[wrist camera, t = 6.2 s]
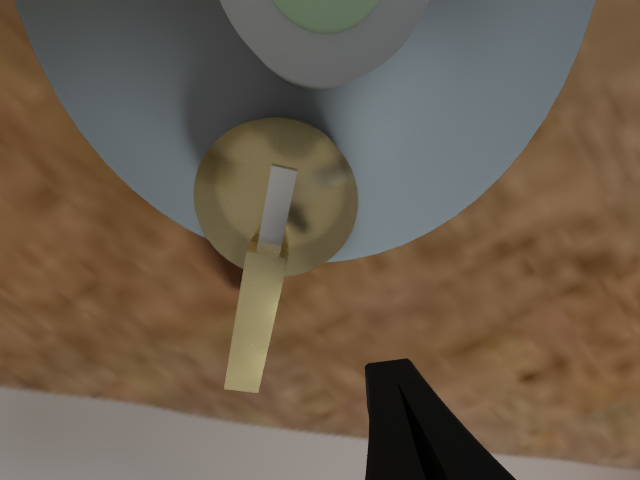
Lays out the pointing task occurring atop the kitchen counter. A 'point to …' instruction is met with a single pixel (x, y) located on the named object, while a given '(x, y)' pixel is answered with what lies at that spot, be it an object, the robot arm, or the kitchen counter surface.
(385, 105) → the plate
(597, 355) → the kitchen counter surface
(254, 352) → the knob
